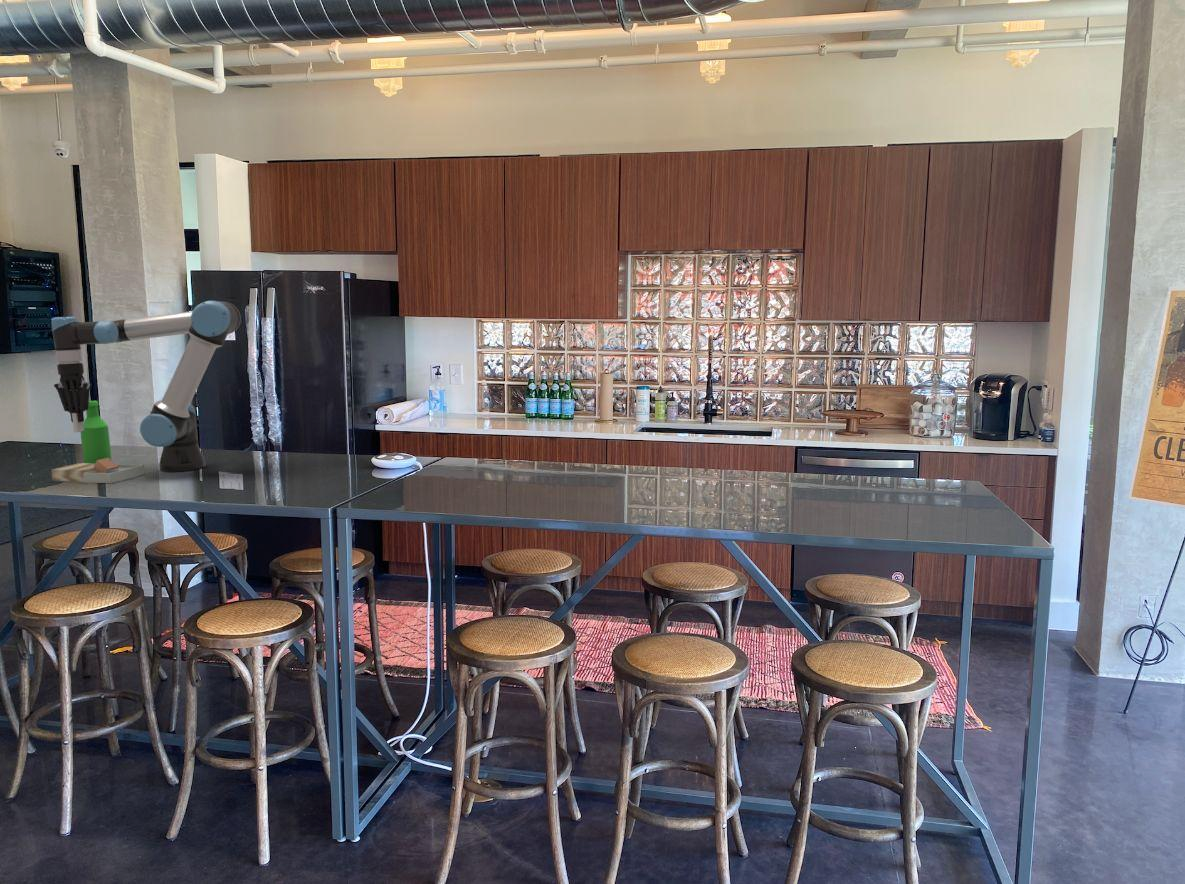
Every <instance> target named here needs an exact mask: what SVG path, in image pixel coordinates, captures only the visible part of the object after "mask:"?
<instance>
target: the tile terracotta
mask: <svg viewBox="0 0 1185 884" xmlns="http://www.w3.org/2000/svg"><path fill="white" fill-rule="evenodd" d="M117 464H118V463H116V462H115V461H113V460H112V461H111V460H110V459H109V458H105V459H100V460H97V461H96V463H95V465H94V467H93V468H95V469H96V470H97V471H99V472H100V473H108V470H110V469H114V468H118V467H119V466H118V465H117Z"/></svg>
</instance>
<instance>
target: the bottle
mask: <svg viewBox="0 0 1185 884" xmlns="http://www.w3.org/2000/svg"><path fill="white" fill-rule="evenodd" d="M99 405H100V404H99V402H98V400H89V405H88V410H86V411H85V413H86V417H85V418H84V422H83V426H84V431H82V432H80V439H81V448H82V449H81V451H82V456H83V463H94V464H95V463H96V461H97V460H100V459H105V458H109V459H110V460H111V461H113V460H112V451H111V442H110V432H109V425H108V424H107V423H106V422H105V421H104V420H103V419H102V417H101V416H100V412H99Z"/></svg>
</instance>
